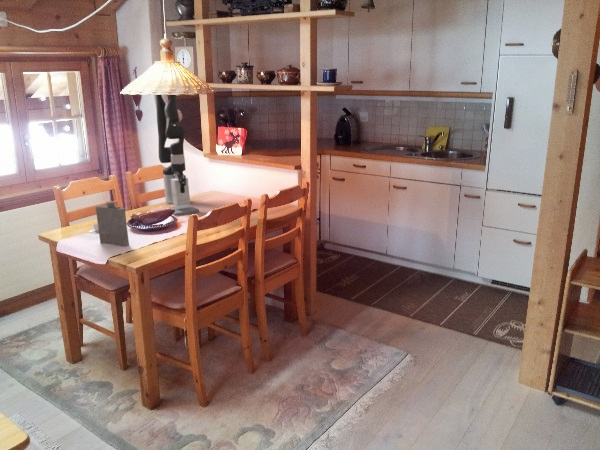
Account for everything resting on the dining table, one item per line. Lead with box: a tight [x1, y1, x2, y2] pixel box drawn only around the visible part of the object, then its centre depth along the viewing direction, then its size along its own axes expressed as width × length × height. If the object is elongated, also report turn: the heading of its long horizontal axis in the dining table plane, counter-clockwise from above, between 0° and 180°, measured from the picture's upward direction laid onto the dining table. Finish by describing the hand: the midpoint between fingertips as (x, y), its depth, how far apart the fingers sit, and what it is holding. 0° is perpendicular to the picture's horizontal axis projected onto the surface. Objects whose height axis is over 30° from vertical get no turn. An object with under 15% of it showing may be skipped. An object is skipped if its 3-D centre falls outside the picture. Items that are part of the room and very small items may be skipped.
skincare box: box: [171, 177, 191, 206], centre depth 297 cm, size 8×6×15 cm
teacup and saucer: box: [88, 222, 99, 234], centre depth 266 cm, size 9×8×4 cm
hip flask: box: [95, 200, 130, 247], centre depth 243 cm, size 16×4×20 cm, turn 67°
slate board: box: [166, 203, 200, 217], centre depth 300 cm, size 16×14×2 cm
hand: (180, 191), depth 297 cm, fingers closed on skincare box, 6 cm apart
